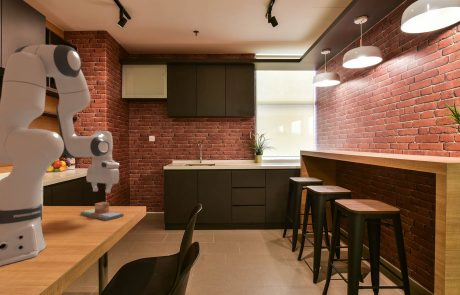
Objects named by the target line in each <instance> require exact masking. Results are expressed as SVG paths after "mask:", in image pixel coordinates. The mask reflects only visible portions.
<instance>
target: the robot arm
mask: <svg viewBox="0 0 460 295" xmlns="http://www.w3.org/2000/svg"><path fill="white" fill-rule="evenodd" d="M47 78H53V79H54V82H55V86H56V90H57V92H58V93H57V94H58V97H59V100H58V103H57V105H56V109H55V112H56V119H57V125H58V129H59V133H58V132H56V131H51V130H49V129H42V128H29V126H30V125H31V123H32V122H33V121H34V120H36V119H37V118H39V117H41V116H42V115H43V113H44V112H45V105H46V93H47ZM87 83H88V82H87V80H86V78H85V75H84V73H83V70H82V58H81V56H80V54H79V53H78V51H76V49H75V48H73V47H71V46H69V45H65V44H56V45H55V44H35V45H34V44H33V45H24V46H21V47H18V48H17V49H15V51H14V52H13V53H11V54H10V56H9V57H8V60H7V62H6V65H5V68H4V73H3V78H2V87H1V93H0V94H1V96H0V164H13V166H12V168H11V171H10V173H9V174H8V175H7V176H5V177H3V178H1V179H0V267H1V266H4V265H7V264H12V263H16V262H20V261H24V260H28V259H31V258H35V257H37V256H38V254H39V253H40V252H41V251H43V250H44V249H45V248H46V247H47V244H46V241H45V238H44V235H43V233H44V232H43V228H42V221H43V217H42V204H41V186H42V180H43V181H44V177H45V174H46V172H47V171H48V169H49V168H50V167H51V165H52V164H53V163H55V162H56V161H57V160H59V159H60V157H62V155H63V154H64V156H66V157H67V158H71V159H72V158H73V159H75V158H92V159H91V160H92V161H91V162H92V163H90V164H89V166H88V168H87V170H86V177H85V179H86V182H88V183H91V187H92V192H98V191H99V187H98V186H97V185H98V183H99V184H106V188H105V189H104V190H105V193H106V194H110V193H111V190H112V188H113V186H114V185H115V184H118V183H119V180H120V170H119V167H120V163H119V162H117V161H116V160H114V159H113V150H114V149H113V148H114V146H113V145H114V142H113V139H114V138H113V136H112V135H113V134H112V132H110V131H108V130H103V129H97V130H95V131H94V133H93V134H91V135H80V136H79V135H77V134H76V133H75V126H74V121H73V117H74V115H75V114H77V113H79V112H81V111H83V110H85V109H86V108H87V107H88V106H89V105H90V103H91V93H90V90H89V86H88V84H87Z"/></svg>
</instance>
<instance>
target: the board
mask: <svg viewBox="0 0 460 295" xmlns="http://www.w3.org/2000/svg"><path fill="white" fill-rule="evenodd" d="M80 215H81V216H85V217H88V218H94V219H99V220H103V221H106V222H107V221H110V220H114V219H118V218H122V217H124V213H122V212H117V211H116V212H115V211H111V210H109V212H107V213H103V214H98V213H95V208H92V209H91V208H90V209H86V210H82V211H81V212H80Z"/></svg>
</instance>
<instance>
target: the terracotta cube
mask: <svg viewBox="0 0 460 295" xmlns="http://www.w3.org/2000/svg"><path fill="white" fill-rule="evenodd" d="M94 209H95V213H98V214H103V213H107V212H109V211H110V203H109V202H106V201H101V202H97V203H94Z"/></svg>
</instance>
